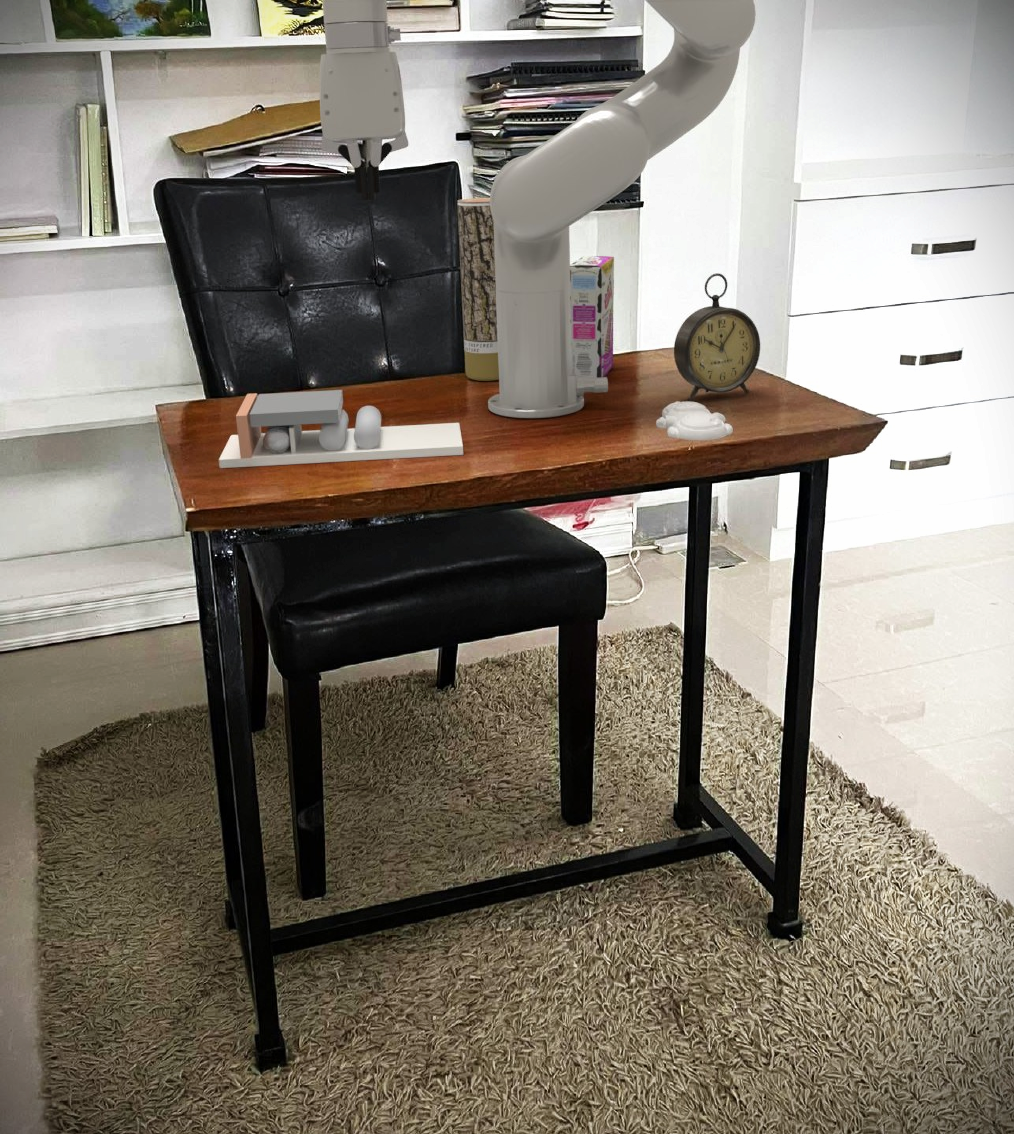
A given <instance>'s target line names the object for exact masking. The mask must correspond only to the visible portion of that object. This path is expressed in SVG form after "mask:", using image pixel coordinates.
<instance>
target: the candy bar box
mask: <svg viewBox="0 0 1014 1134" xmlns="http://www.w3.org/2000/svg"><path fill="white" fill-rule="evenodd" d="M614 267H615V258H614V256H606V255H605V256H604V255H589V256H585V255H584V256H582V257H580V258H579V259H578V260H575V261H573V263H570V318H571V367H572V369H573V371H574V372H575V374H576V375H578V377H580V376H583V377H586V376H595V377H596V378H600V377H607V375H608V373H609V372H610V371H611V370H612V368H613V367H614V294H615V292H614V288H615V286H614V285H615V280H614V279H615V272H614V271H615V268H614ZM612 366H613V367H612Z"/></svg>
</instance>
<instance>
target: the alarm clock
mask: <svg viewBox="0 0 1014 1134" xmlns="http://www.w3.org/2000/svg"><path fill="white" fill-rule="evenodd" d="M714 277H720V278H722V279H723V282H724V290H723V292H722V293H721V294H720V295H718V294H714V295H712V296H711V294H709V292H708V290H707V289H708V284H709V282H710V280H711V279H713V278H714ZM727 289H728V279H726V277H725V276H724V274H722V273H713V274H711V275H710V276H708V278H707V279H706V280H705V283H704V291H705V294H706V296H707V297H708V298H709V299H711V300H712V305H711V306H706V307H705V306H704V307H702V308H700V309H697V310H696V311H694V312H693V313H691V314H690V315H689V316H688V317H687V318H686V319H685V320H684V321H683V322H682V324H681V326H680V327H679V329H678V331H677V333H676V336H675V340H674V344H673V345H674V346H673V357H674V362H675V366H676V368H677V371H678V372H679V374H680V376H681V377H682V378H683V380H685V382H687V383H688V384H690V385H692V386H694V387H693V389H692V391H691V393H690V395H689V397H688V398H687V402H693V398H694V397H695V396H696V395H697V394H698V392H699V390H705V393H709V392H711V393H716V394H721V393H727V392H731V391H733V390H736V389H738V388H739V387H740V388H741V390H743V391H744V394H747V395H748V394H749V393H750V390H749V389H748V388H747V387H746V384H745V382H747V380H749V378H750V377H751V376H752V374H754V373H753V372H754V371H755V369H756V367H757V365H758V362H759V359H760V354H761V338H760V333H759V330H758V328H757V326H756V324H755V322H754V321H753V319H752V318H750V317H749V316H748V315H747V314H746V313H745V312H744V311H741V310H739V309H737V308H733V307H725V306H720V303H719V302H720V298H723V296H724V295H725V294H726V293H727Z"/></svg>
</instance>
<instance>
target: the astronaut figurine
mask: <svg viewBox="0 0 1014 1134" xmlns="http://www.w3.org/2000/svg"><path fill="white" fill-rule="evenodd" d="M655 424H656V428H658V429H667V431H666V434H667V437H669V438H673V439H681V440H686V441H711V440H719V439H723V438H725V437H727V435H732V434H733V433H734V428H733V426H732V425H731V424H729V423H726V417H725V415H723V414H722V413H719V412H713V413H712V412H711V411H710V410H709V409H708V408H707V407H706V405H704V404H701V403H699V402H695V401H692V402H689V401H678V400H677V401H675V402H671V403H669V404H667V406H665V407H664V408H663V409H662V411H661V417H659V418H658V419H656V422H655Z"/></svg>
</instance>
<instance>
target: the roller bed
mask: <svg viewBox="0 0 1014 1134" xmlns="http://www.w3.org/2000/svg"><path fill="white" fill-rule="evenodd" d="M257 398H258V393H256V392H255V393H247V394H246V395H245V398H244V399H243V401H242V402H241V403H242V404H241V405H240V407H239V409H238V410H237V413H236V415H235V422H236V427H237V429H236V430H237V434H231V435H230V437H229V439H228V441H227V442H226V445H225V447H224V449H223V451H222V452H221V454H220V457H219V458H218V465H219V469H227V468H230V469H231V468H248V467H265V466H267V467H269V466H281V465H282V466H283V465H284V466H285V465H286V466H287V465H303V464H318V463H339V462H353V461H354V462H356V461H359V462H360V461H371V460H372V461H374V460H375V461H376V460H390V459H391V460H392V459H393V460H394V459H410V458H411V459H412V458H427V457H443V456H444V457H447V456H463V455H464V445H463V438H462V432H461V427H460V425H461V424H460V422H448V423H428V424H415V425H412V424H411V425H410V424H409V425H393V426H391V425H390V426H382V413H381V412H380V410H379V408H376V407H375V406H373V405H365V406H362V407H360V409H359V410H358V411H357V413H356V418H355V425H354V426H355V427H352V428H348V425H349V415H348V413H347V412H346V411H345V409H343V408H342V410H341V415H340V420H339V422H337V423H321V427H320V429H316V430H302V424H300V425H290V427H289V433H290V444H289V447H288V449H287V450H286V451H285V452H284V453H282V454H272V453H270V452H269V451H267V450H266V448H265V446H264V443H263V439H264V436H265V433H266V432H264V433H263V432H262V427H251V423H250V412H251V410H252V408H253V406H254V404H255V402H256V400H257Z"/></svg>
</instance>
